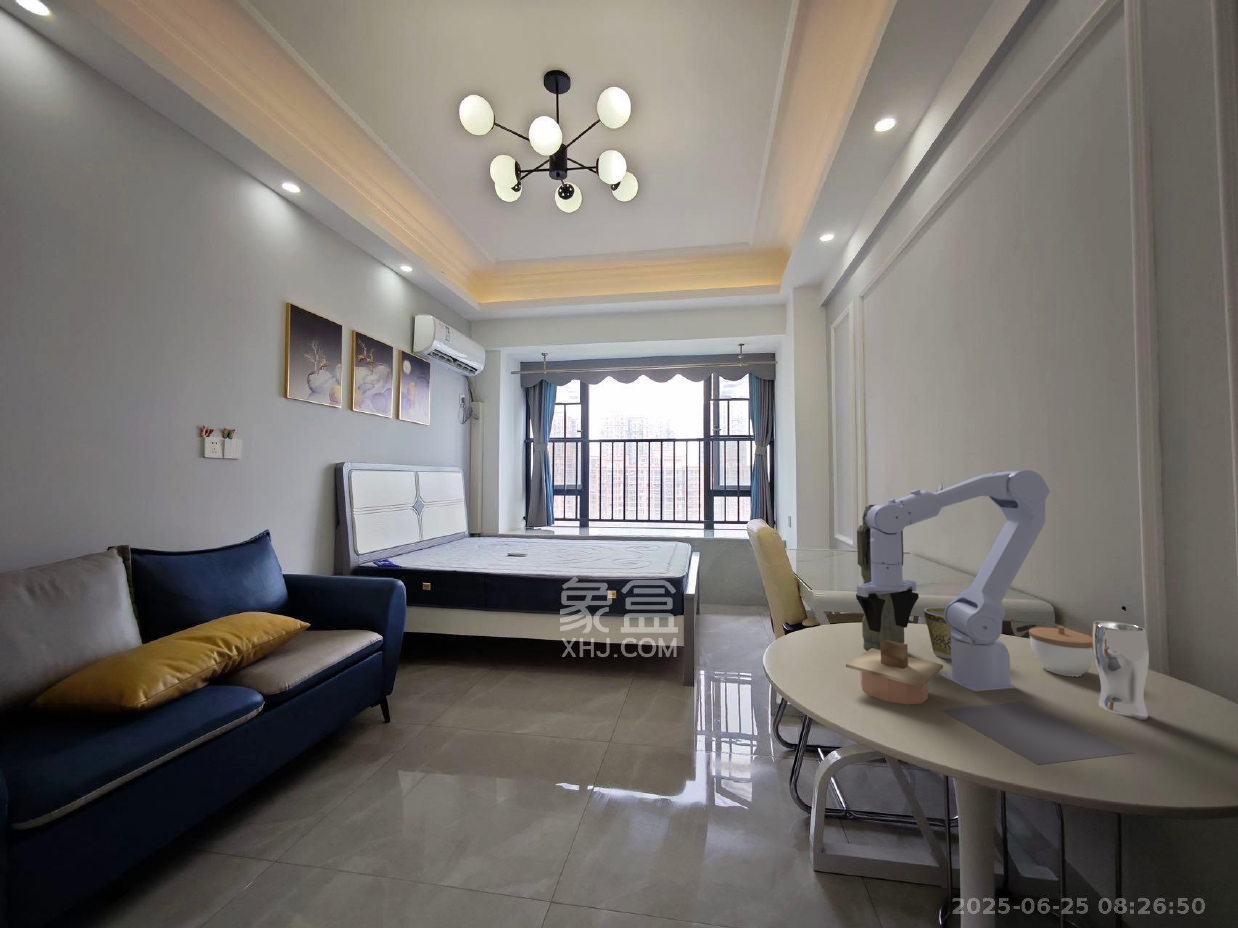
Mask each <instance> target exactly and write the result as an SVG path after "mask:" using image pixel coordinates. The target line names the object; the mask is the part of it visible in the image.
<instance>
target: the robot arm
mask: <svg viewBox="0 0 1238 928" xmlns="http://www.w3.org/2000/svg"><path fill="white" fill-rule="evenodd" d="M1050 492H1051V490H1050V488H1049V485H1047V483H1046V481H1045V479H1044V478H1043V476H1042V475H1041V474H1039V473H1038V472H1036V471H1034V470H1031V469H1023V470H1013V471H1012V470H1011V471H1008V470H1007V471H1005V470H997V471H996V470H995V471H993V472H991V473H985V474H980V475H977V476H974V477H972V478H969V479H967V480H964V481H961V482H959V483H957V484H953V485H951V486H948V487H945V488H943V489H941V490H938V491H935V492H934V493H933V492H931V491H928V490H925V489H923V490H921V491H920V489H914V490H911V491H910V494H909V495H906V496H902V497H901V498H898V499H895V498H890V499H888V504H883V503H882V504H874V505H875V506H873V507H872V508H870V510H869V511H868V513H867V517H865V521H866V523H867V525H868V526H869V527H870V534H871V539H870V546H871V582H869V583H866V584H864V583H863V584H860V585H856V594H855V595H856V596H855V599H856V600H857V602H858V604H860V607H861V608H862V611H863V615H864V614H865V616H866V619H867V623H868V626H869V630H872V631H875V632H880V629H881V615H882V610H883V606H884V603H885V601H886V600H884V599H880V598H878V596H877V595H878V594H886V593H889V594H890V596H891V599H892V602H893V607H894V616H895V623H896V625H897V626H901V627H904V629H905V628H906V629H907V628H908V626H909V622H910V617H911V614H912V611H913V609H914V606H915V604H916V603H917V601H918V600H919V598H920V597H919V596H920V595H919V593H917V592H916V591H917V582H916V580H915V581H914V580H910V579H906V580H905V579H904V578H903V566H902V543H901V531H902V530H903V531H904V529H905V527H909V526H911V525H914V524H917V523H921V522H924V521H926V520H930V519H932V518H935V517H937V516H939V514H940V512H941V509H942V508H945V507H948V506H951V505H956V504H957V503H962V502H964V501H965V502H966V501H969V500H971V499H975V498H979V497H988V498H989V499H990V500H991V501H992V502H994V504H995V505H996V506H997V507H998V508H999V509H1000V510H1001V511H1002V513H1003V515H1004V516H1005V518H1006V522H1005V524H1004V526H1003V527H1002V529H1001V531H1000V533H999V535H998V536H997V539H996V541H995V542H994V544H993V546H992V547H991V549H990V551H989V553H988V554H987V556H986V559H985V560H984V562H983V563H982V565H981V568H980V569H979V571H978V573H977V575H976V577H975V578H974V580H973V582H972V583H971V586H970V587H968V588H966V589H965V590H962V591H960V592H959V593H958V596H957V597H956V598H955V599H954V600H953V601H951V602H949V603H948V604H947V605H946V606H945V607H944V608H945V611H944V618H945V621H946V622H947V624H948V625H949V626H950V627H951V657H952V660H951V673H942V674H941V675H940V676H941V677H943V678H945V679H948V680H950V681H951V682H954V683H955V684H958V685H959V686H962V687H964V688H966V689H968V690H970V691H974V692H980V691H992V690H995V691H996V690H1003V689H1005V690H1006V689H1013V688H1014V689H1015V687H1016V686H1014V685H1012V682H1011V681H1012V679H1011V658H1010V652H1009V650H1008V648H1007V646H1006V644H1005V643H1004V642H1003V641H1001V640H1000V639H999V638H1000V636H1002V635H1001V634H1002V633H1003V620H1004V618H1005V617H1006V611H1005V609H1004V605H1003V602H1002V601H1003V599H1004V597H1005V595H1006V594H1007V592H1008V590H1009V589H1010V587H1011V585H1012V583H1013V581H1014V580H1015V578H1016V576H1017V574H1018V572H1019V571H1020V569H1021V567H1022V565H1023V564H1024V562H1025V560H1026V559H1027V557H1028V554H1029V553H1030V551H1031V549H1032V547H1033V546H1034V544H1035V542H1036V540H1037V538H1038V537H1039V535H1040V533H1041V532H1042V529H1043V528H1044V526H1045V523H1046V499H1047V498H1048V496H1049V494H1050ZM903 579H904V580H903Z"/></svg>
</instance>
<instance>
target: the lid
mask: <svg viewBox="0 0 1238 928" xmlns="http://www.w3.org/2000/svg"><path fill="white" fill-rule="evenodd" d="M880 645H881V650H878V649H873V648H871V649H870V650H868V651H867V650H865V652H863V653H862V654H860V655H858V656H856V657H855V658H854V659H851V660H850V661H849V662H847V663H845V668H848V669H852V670H855V671H858V672H860V671H862V672H866V673H869V674H873V675H877V676H881V677H884V678H888V679H892V680H896V681H899V682H903V683H907V684H910V685H914V686H918V687H923V686H924V685H925V684H927V683H929V682H930V681H931V680H932V679H933V678H934V677H935V676H936V675H938V674H939V673H940V672H941V671H942V670H944V664H943V663H942V664H941V663H938V662H933V661H929V660H925V659H924V660H923V659H919V658H915V657H913V656H912V657H911V656H909V655H908V653H909V652H908V651H909V649H908V648H909V647H908V644H907V643H904V644H903V643H898V642H894V641H889V640H883V641H882V642H880Z"/></svg>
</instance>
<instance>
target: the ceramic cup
mask: <svg viewBox="0 0 1238 928" xmlns="http://www.w3.org/2000/svg"><path fill="white" fill-rule="evenodd" d="M945 608H946V607H943V606H941V607H940V606H937V607H936V606H934V607H932V606H931V607H925V608H924V609H923V614H924V618H925V623H926V626H927V630H928V635H929V639H930V642H931V648H932V651H933V653H934V655H935V656H936V657H938V658H941V659H945V660H949V661H952V657H951V627H950V626H949V625H948V624H947V622H946V621H945V618H944V611H945Z"/></svg>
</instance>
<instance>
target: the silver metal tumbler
mask: <svg viewBox="0 0 1238 928" xmlns="http://www.w3.org/2000/svg"><path fill="white" fill-rule="evenodd" d="M1091 637H1092V647H1093V655H1094V660H1095V662H1094V664H1095V668H1096V671H1097V674H1098V678H1099V685H1100V693H1099V699H1098V706H1099V708H1102V709H1104V710H1106V711H1108V712H1111V713H1114V714H1117V715H1121V716H1126V717H1130V718H1135V719H1138V720H1141V721H1144V720H1147V719H1149V714H1148V710H1147V707H1146V703H1145V697H1144V696H1145V694H1144V691H1145V687H1146V686H1145V685H1146V680H1147V676H1148V670H1149V662H1150V661H1149V660H1150V658H1149V657H1150V654H1149V644H1148V639H1147V631H1146V629H1145V628H1144V627H1142V626H1139V625H1135V624H1131V623H1127V622H1121V621H1113V620H1095V621H1093V622H1092V636H1091Z"/></svg>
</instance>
